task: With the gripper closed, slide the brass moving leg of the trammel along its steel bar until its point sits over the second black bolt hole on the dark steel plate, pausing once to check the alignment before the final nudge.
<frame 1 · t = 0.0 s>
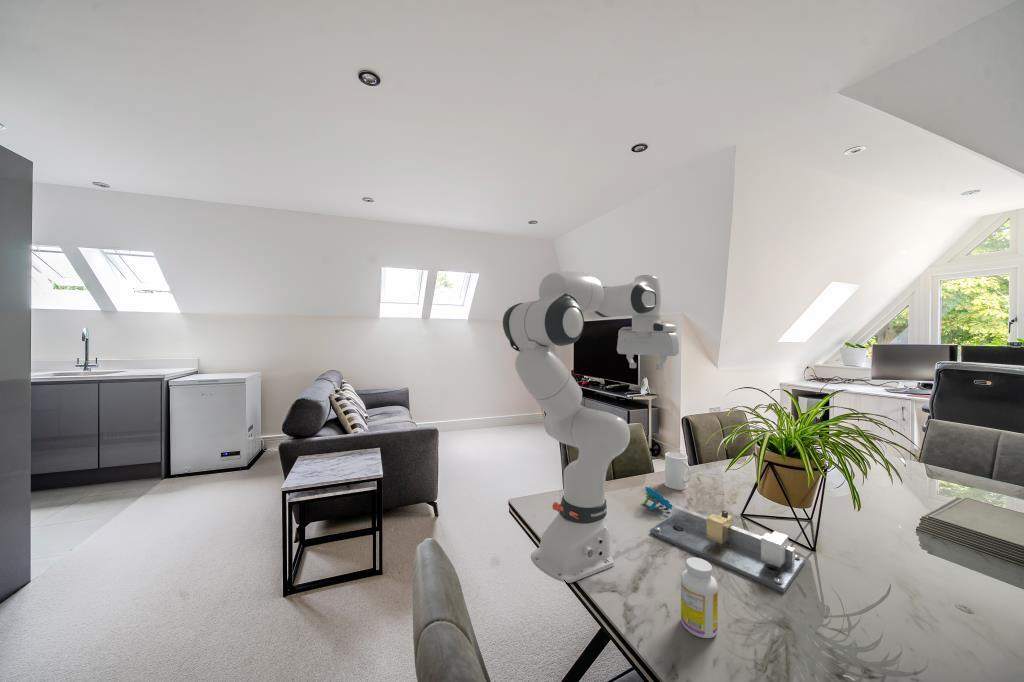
hand: (645, 369, 120), 48 cm above the table, fingers open, 8 cm apart
moving leg: (720, 527, 104), point 5 cm above the table, slide at 0.0 cm
supplement bottle: (698, 627, 75), on the table
gear: (657, 509, 126), on the table
mug: (678, 487, 144), on the table
bolt plate: (722, 547, 103), on the table
trammel bar: (722, 529, 103), point 5 cm above the table
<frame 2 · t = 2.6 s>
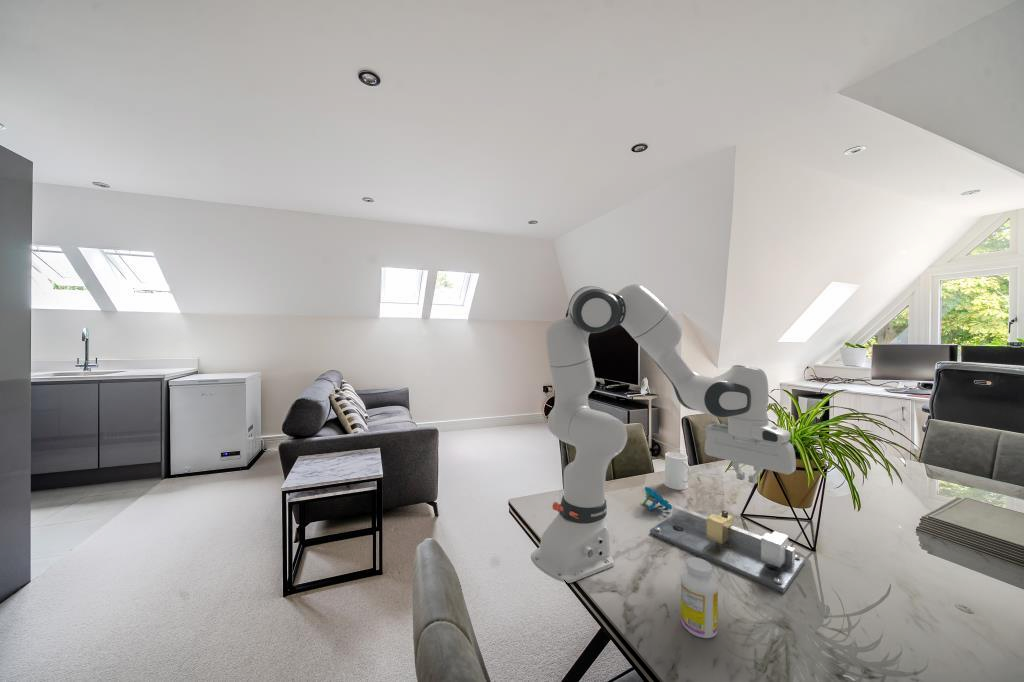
hand: (746, 480, 96), 21 cm above the table, fingers closed
nothing on the table moved.
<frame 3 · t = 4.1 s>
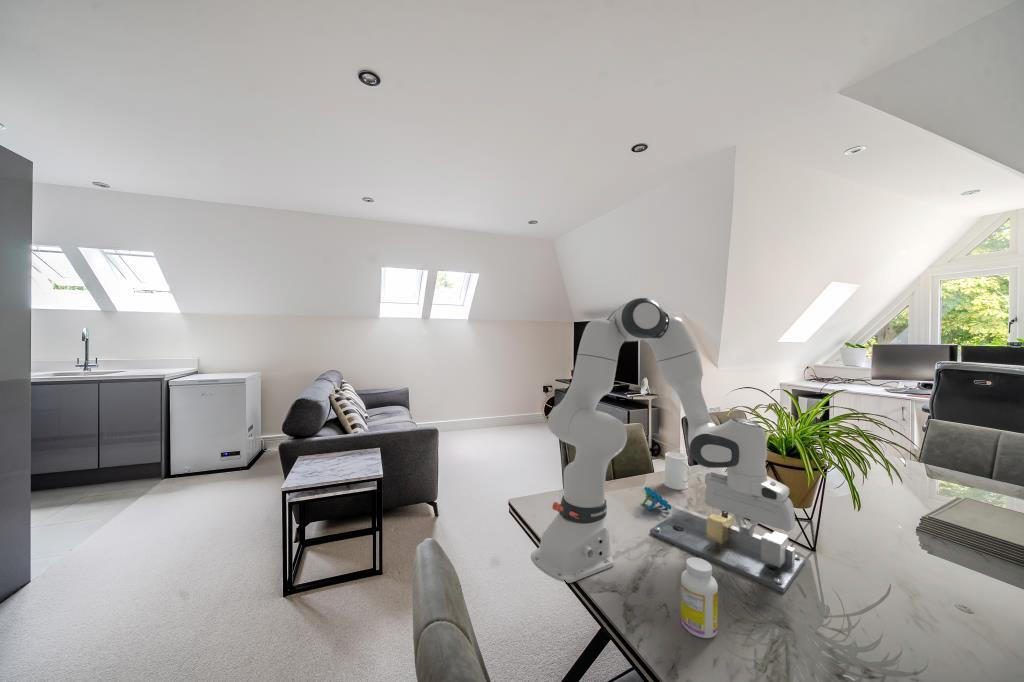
hand: (746, 533, 97), 7 cm above the table, fingers closed
nothing on the table moved.
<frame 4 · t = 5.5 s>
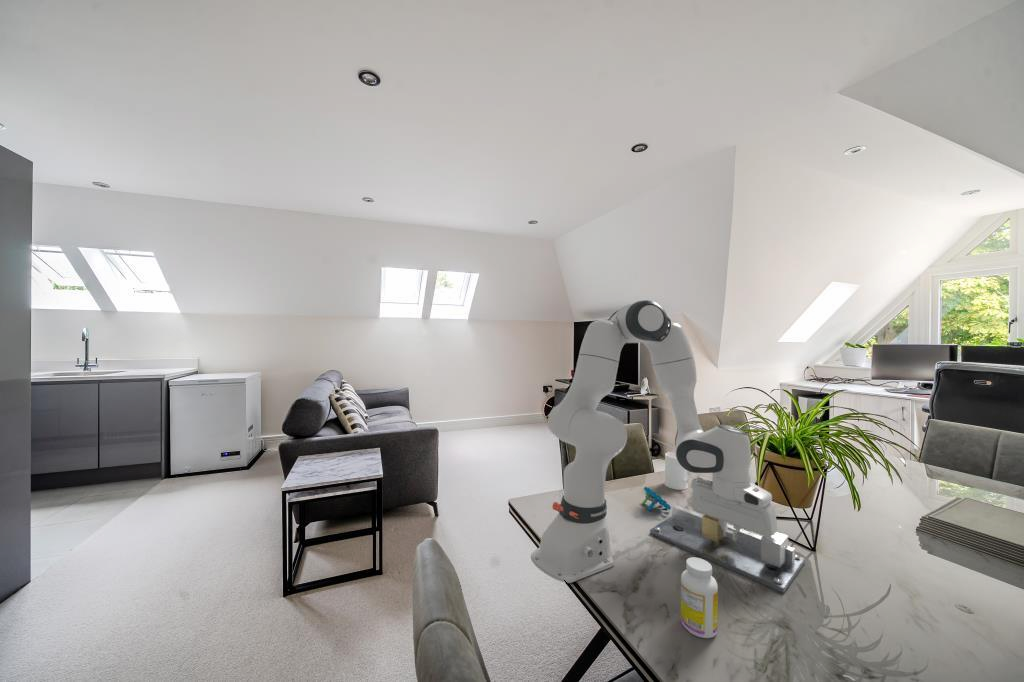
hand: (730, 538, 99), 5 cm above the table, fingers closed
moving leg: (716, 526, 104), point 5 cm above the table, slide at 1.2 cm, touching gripper
everything else where it was.
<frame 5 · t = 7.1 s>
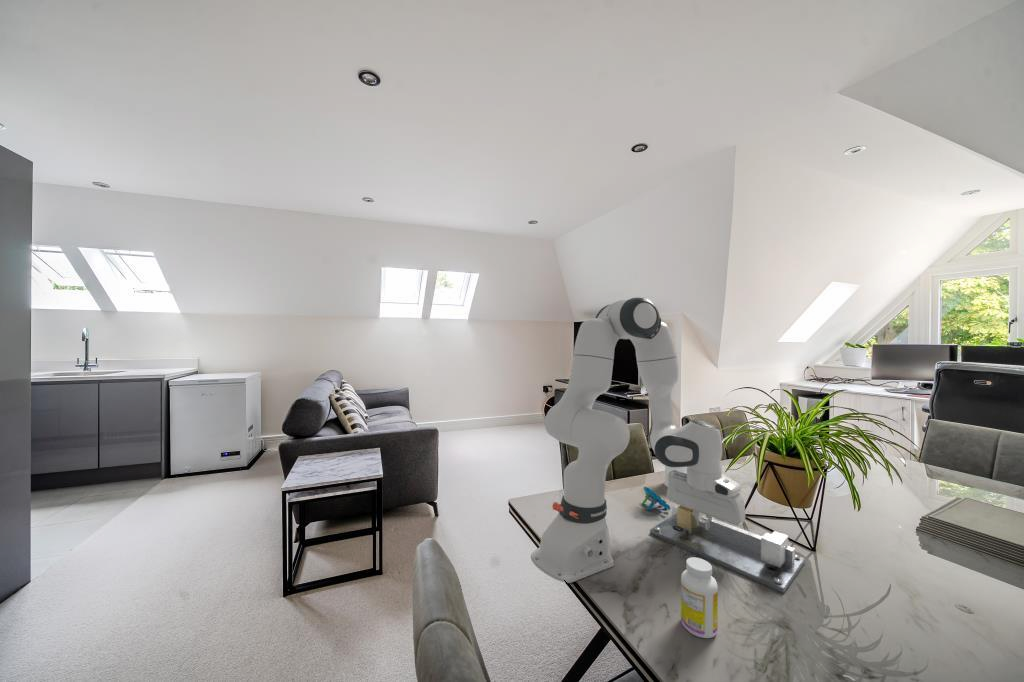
hand: (703, 527, 105), 5 cm above the table, fingers closed
moving leg: (690, 516, 110), point 5 cm above the table, slide at 8.3 cm, touching gripper
everything else where it was.
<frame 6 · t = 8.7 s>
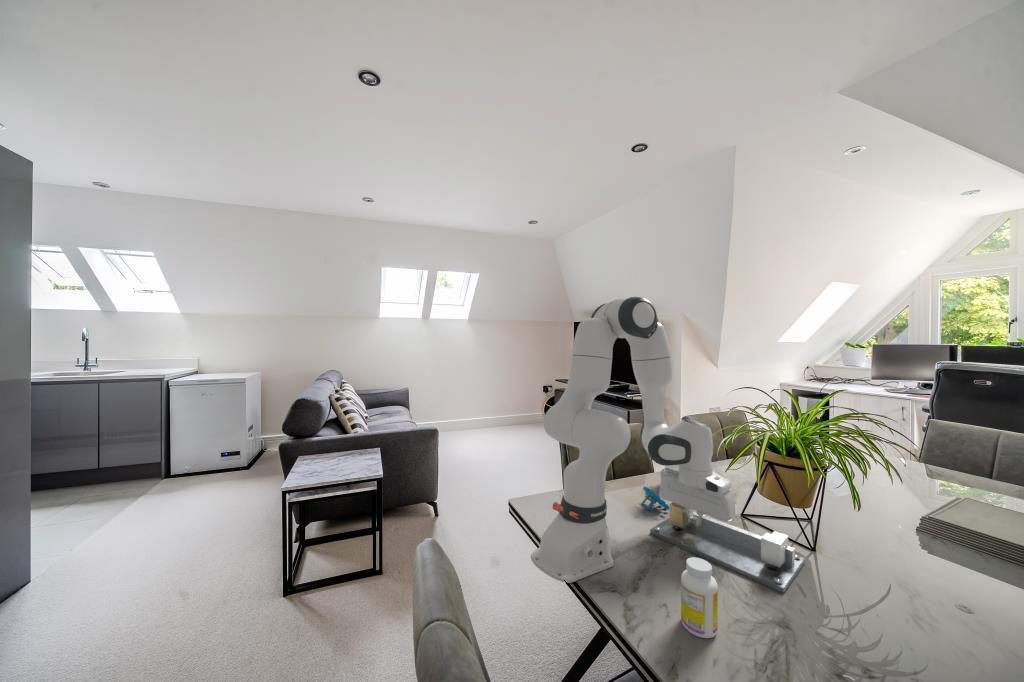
hand: (694, 523, 107), 5 cm above the table, fingers closed
moving leg: (682, 513, 112), point 5 cm above the table, slide at 10.7 cm, touching gripper
everything else where it was.
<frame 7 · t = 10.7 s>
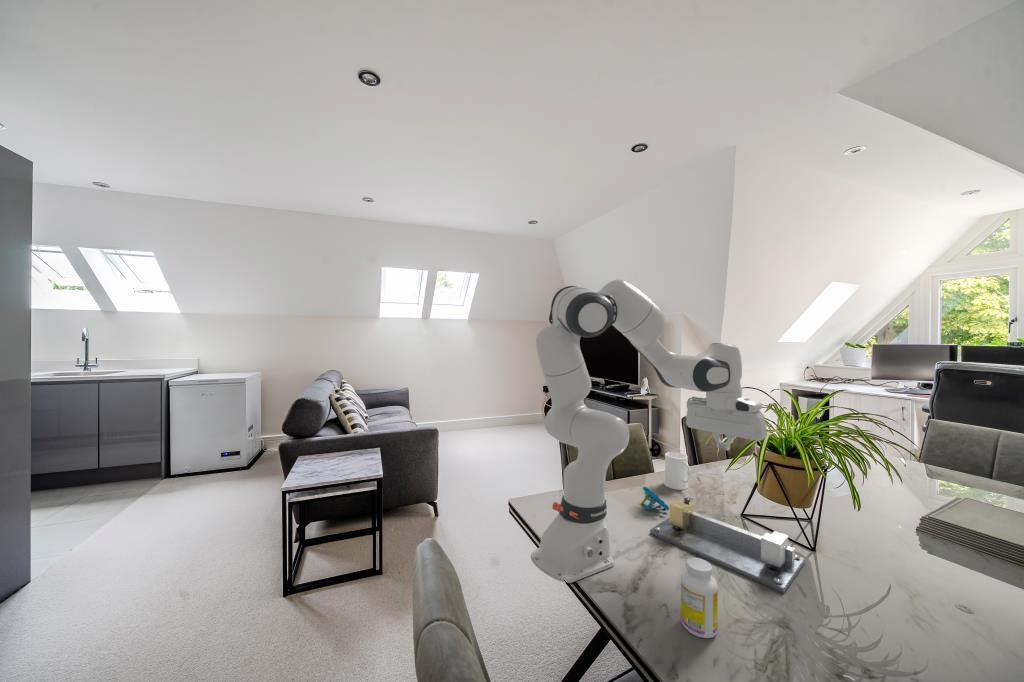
hand: (723, 449, 105), 27 cm above the table, fingers closed
moving leg: (682, 513, 112), point 5 cm above the table, slide at 10.7 cm
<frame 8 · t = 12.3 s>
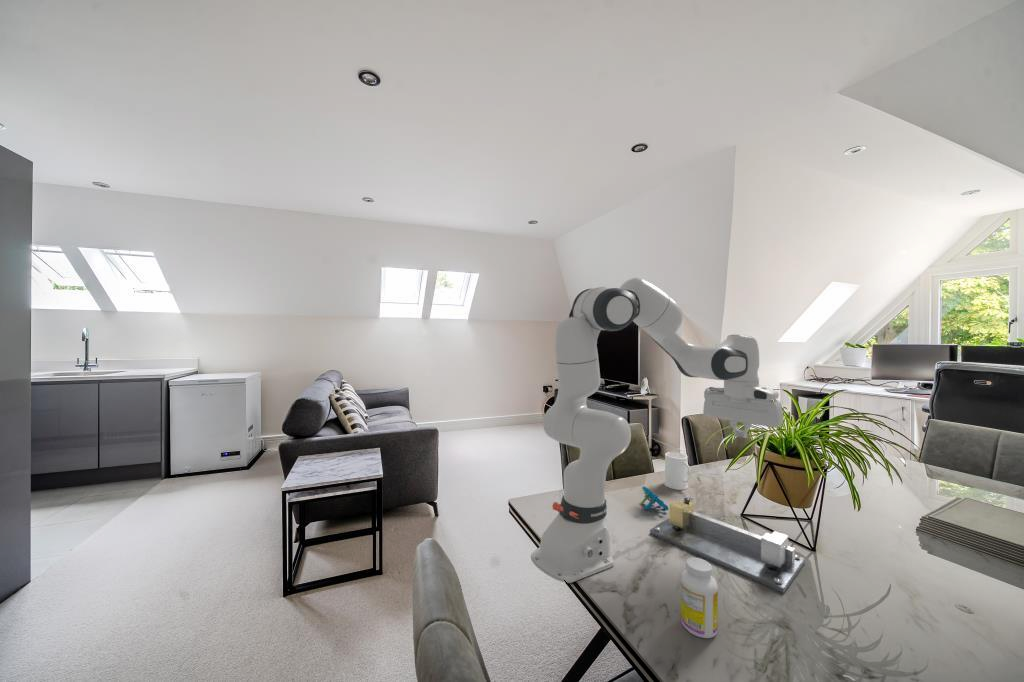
hand: (740, 436, 109), 29 cm above the table, fingers closed
at the end: moving leg slide at 10.7 cm; moving leg 0.3 cm from the target spot on the bolt plate, point 5.2 cm above the bolt plate's base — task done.
